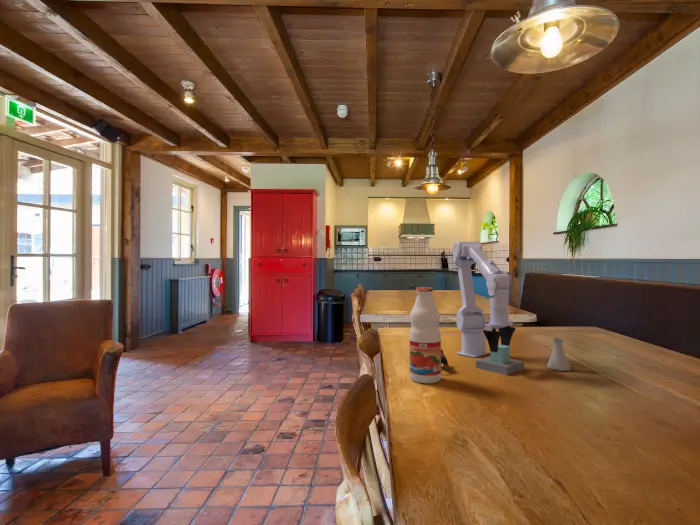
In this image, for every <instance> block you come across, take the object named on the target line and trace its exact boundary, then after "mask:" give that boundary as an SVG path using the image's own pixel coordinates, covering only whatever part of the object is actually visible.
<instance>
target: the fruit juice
mask: <svg viewBox="0 0 700 525" xmlns="http://www.w3.org/2000/svg"><path fill="white" fill-rule="evenodd" d="M415 291H416V294H417V296H416V297H415V302H414V304H413V306H412V308H411V310H410V312H409V321H410V324H411V327H410V328H409V336H408V337H409V339H408V340H409V341H408V342H409V378H410V379H411V381H413V382H416V383H419V384H435V383H439V382H440V381H441V379H442V364H441V349H442V343H441V342H442V340H441V339H442V336H441V330H440V327H439V325H440V324H439V323H440V321H441V314H440V312H439V310H438V308H437V306H436V304H435V301H434V298H433V287H430V286H429V287H427V286H426V287H425V286H423V287H421V286H420V287H418V286H417V287H416V289H415Z"/></svg>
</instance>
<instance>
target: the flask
mask: <svg viewBox="0 0 700 525" xmlns="http://www.w3.org/2000/svg"><path fill="white" fill-rule="evenodd" d="M552 341H553V347H552V352H551V354H550V357H549V359H548V362H547V364H546V368H547V369H548V370H552V371H559V372H570V371H571V366H570V364H569V361H568V359H567V357H566V353H565V351H564V346H563V342H564V338H561V337H553V338H552Z"/></svg>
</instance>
